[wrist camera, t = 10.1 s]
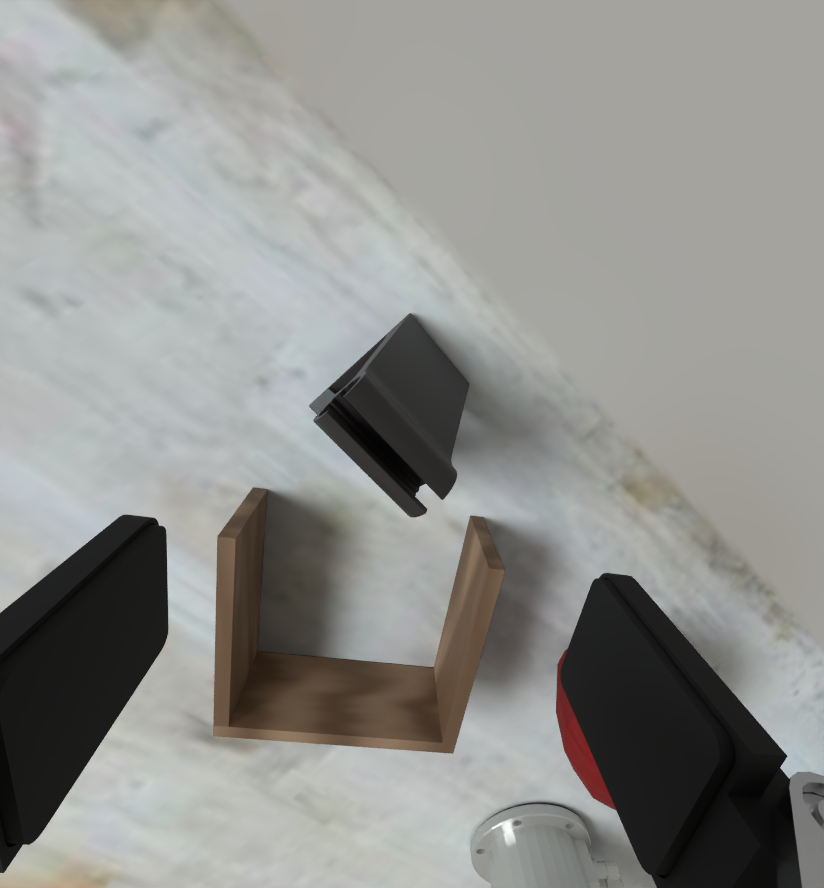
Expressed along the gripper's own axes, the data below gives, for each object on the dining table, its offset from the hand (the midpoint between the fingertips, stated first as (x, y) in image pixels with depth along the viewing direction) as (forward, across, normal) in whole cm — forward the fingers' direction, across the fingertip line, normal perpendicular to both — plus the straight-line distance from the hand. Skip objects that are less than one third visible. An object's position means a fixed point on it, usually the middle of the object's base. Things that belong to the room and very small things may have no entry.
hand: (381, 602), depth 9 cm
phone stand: (+20, 0, 0) cm, 21 cm away
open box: (+20, 0, +16) cm, 26 cm away
